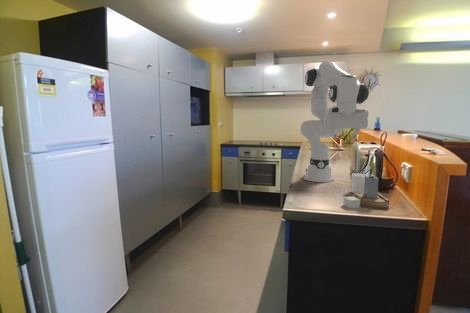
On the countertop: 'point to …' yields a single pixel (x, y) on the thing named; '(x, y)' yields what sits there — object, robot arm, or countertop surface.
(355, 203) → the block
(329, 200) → the countertop surface
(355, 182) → the white cup
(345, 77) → the robot arm
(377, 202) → the stand
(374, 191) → the housing
